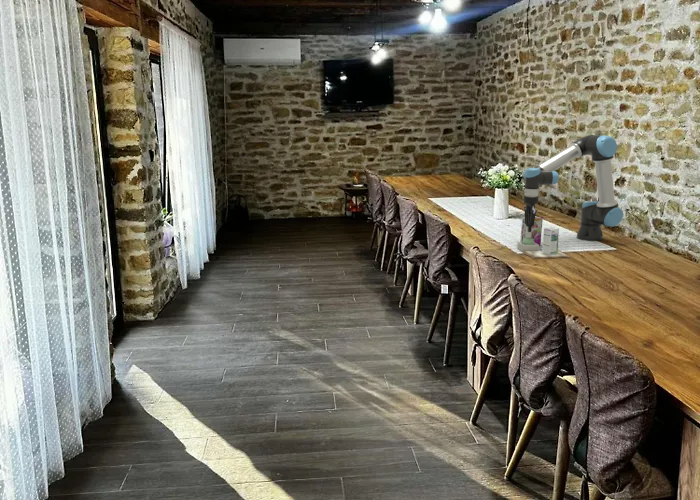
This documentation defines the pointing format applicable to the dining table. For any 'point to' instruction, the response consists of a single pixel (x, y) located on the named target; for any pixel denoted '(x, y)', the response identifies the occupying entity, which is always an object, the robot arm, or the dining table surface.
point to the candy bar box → (533, 230)
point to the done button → (528, 241)
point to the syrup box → (550, 240)
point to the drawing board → (545, 255)
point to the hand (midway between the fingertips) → (528, 237)
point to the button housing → (527, 247)
